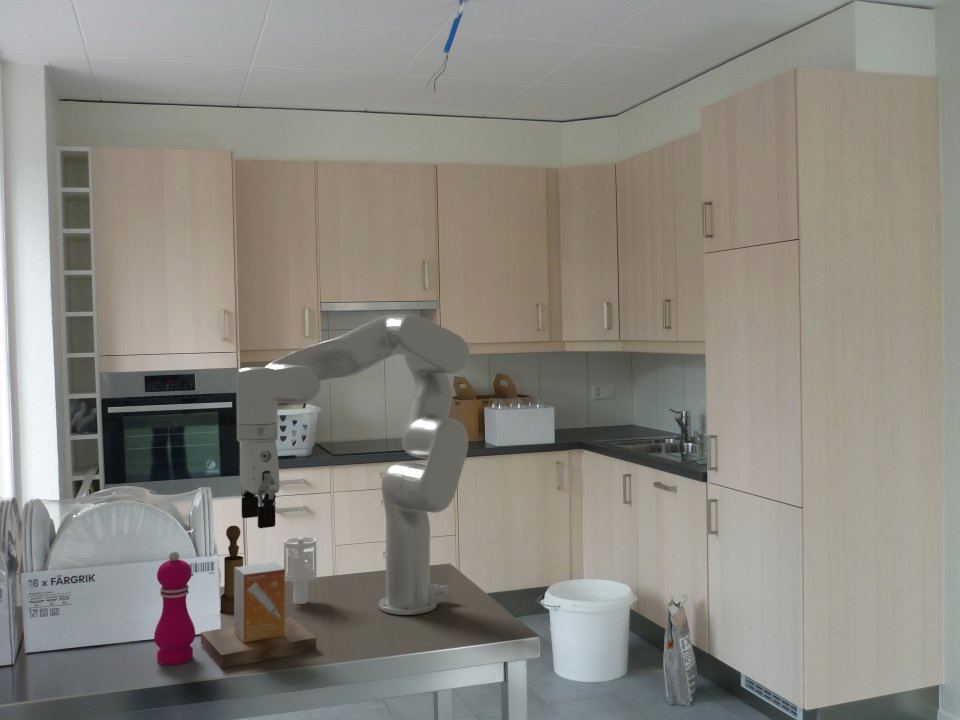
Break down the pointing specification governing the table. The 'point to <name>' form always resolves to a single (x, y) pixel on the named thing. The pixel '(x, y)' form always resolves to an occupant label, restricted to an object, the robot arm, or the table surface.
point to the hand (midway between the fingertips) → (258, 522)
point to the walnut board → (256, 645)
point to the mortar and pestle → (230, 569)
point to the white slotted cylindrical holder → (300, 565)
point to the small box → (259, 601)
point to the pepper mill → (174, 613)
